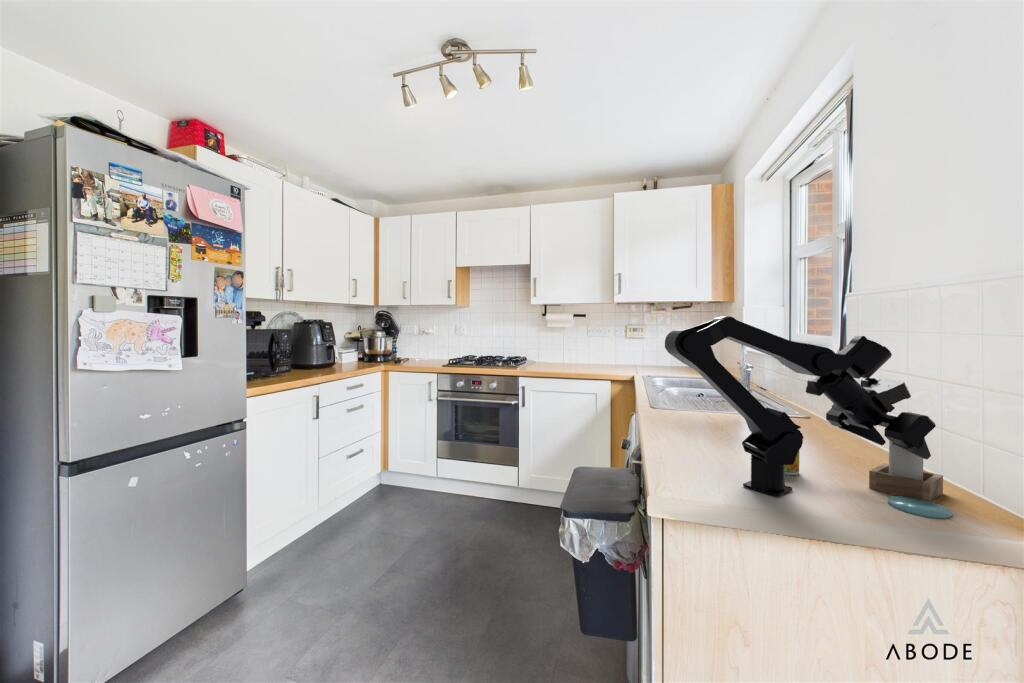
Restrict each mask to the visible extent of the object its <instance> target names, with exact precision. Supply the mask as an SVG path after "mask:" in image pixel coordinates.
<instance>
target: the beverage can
mask: <svg viewBox="0 0 1024 683" xmlns="http://www.w3.org/2000/svg"><path fill="white" fill-rule="evenodd" d="M892 443H893V442H892V441H890V440H888V450H889V451H888V464H889V474H893V475H897V476H902V477H906V478H911V479H915V480H920V481H923V471H924V458H922V457H919V456H917V455H915V454H913V453H911V452H909V451H907V450H904V449H902V448H900V447H898V446H896V445H894V444H892Z"/></svg>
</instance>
